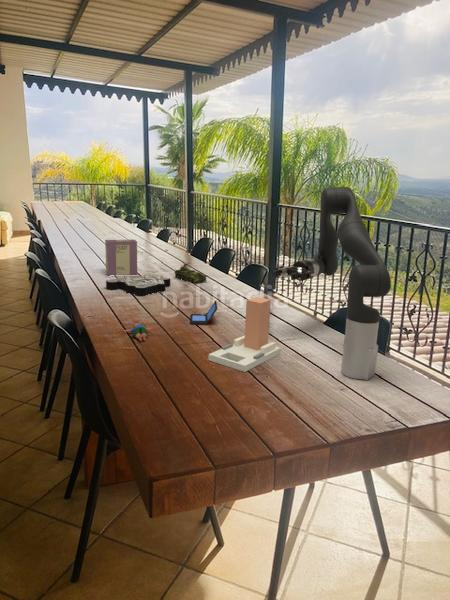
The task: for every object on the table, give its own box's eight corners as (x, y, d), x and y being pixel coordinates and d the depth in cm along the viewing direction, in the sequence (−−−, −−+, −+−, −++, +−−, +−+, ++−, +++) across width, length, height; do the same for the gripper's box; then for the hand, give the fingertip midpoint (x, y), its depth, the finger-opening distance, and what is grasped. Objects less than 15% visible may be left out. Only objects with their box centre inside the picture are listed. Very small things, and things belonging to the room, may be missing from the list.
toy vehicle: (186, 276, 274) (186, 260, 271) (208, 282, 260) (208, 265, 258) (173, 278, 268) (173, 261, 265) (195, 284, 254) (196, 266, 251)
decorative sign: (101, 280, 234) (142, 272, 259) (102, 289, 235) (142, 280, 260) (143, 289, 220) (181, 279, 244) (143, 298, 221) (181, 287, 246)
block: (267, 345, 155) (270, 299, 151) (258, 350, 150) (260, 303, 146) (254, 342, 158) (256, 296, 154) (244, 346, 154) (246, 300, 150)
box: (108, 276, 265) (107, 241, 260) (106, 273, 273) (105, 239, 268) (137, 275, 270) (136, 241, 265) (134, 272, 279) (134, 239, 274)
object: (190, 316, 193) (190, 299, 192) (215, 317, 194) (216, 299, 192) (189, 325, 181) (189, 307, 180) (216, 326, 182) (217, 307, 180)
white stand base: (280, 353, 154) (281, 342, 153) (244, 372, 138) (245, 359, 137) (246, 343, 162) (246, 332, 161) (208, 360, 146) (208, 348, 145)
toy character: (124, 331, 157) (119, 319, 171) (124, 344, 158) (119, 331, 172) (160, 329, 161) (152, 317, 175) (160, 341, 162) (152, 329, 176)
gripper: (289, 257, 177) (266, 262, 164) (324, 262, 168) (302, 267, 155) (288, 276, 179) (265, 282, 166) (322, 282, 170) (300, 289, 157)
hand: (283, 275), depth 161 cm, fingers open, 6 cm apart
